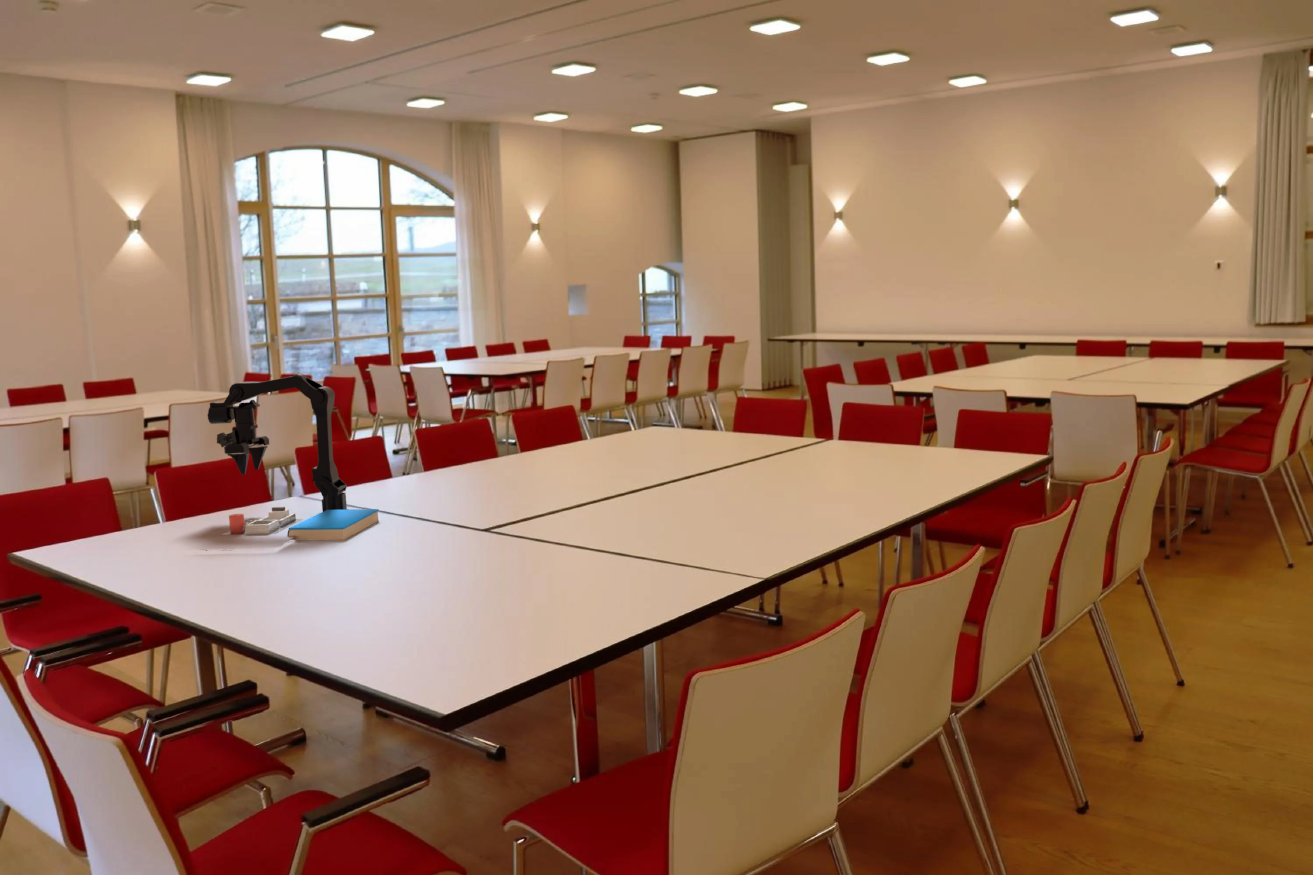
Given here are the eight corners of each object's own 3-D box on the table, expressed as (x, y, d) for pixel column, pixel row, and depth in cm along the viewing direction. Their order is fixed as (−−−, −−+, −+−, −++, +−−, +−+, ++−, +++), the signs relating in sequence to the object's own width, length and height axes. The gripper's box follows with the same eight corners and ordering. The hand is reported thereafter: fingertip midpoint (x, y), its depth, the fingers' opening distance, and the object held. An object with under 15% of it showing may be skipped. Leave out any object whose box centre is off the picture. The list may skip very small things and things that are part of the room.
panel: (303, 522, 327) (302, 510, 326) (275, 537, 307) (274, 525, 307) (252, 523, 328) (251, 511, 328) (221, 538, 308) (220, 526, 308)
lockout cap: (247, 530, 313) (246, 513, 312) (241, 533, 309) (239, 516, 308) (234, 530, 313) (232, 513, 312) (227, 533, 309) (226, 516, 309)
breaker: (289, 520, 325) (288, 505, 324) (284, 523, 321) (282, 508, 320) (275, 520, 325) (273, 506, 324) (269, 523, 321) (268, 508, 320)
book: (378, 509, 326) (344, 526, 301) (379, 523, 326) (345, 541, 302) (324, 509, 328) (286, 526, 303) (325, 523, 328) (287, 541, 304)
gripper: (234, 419, 346) (239, 468, 348) (205, 427, 328) (210, 478, 330) (267, 418, 345) (272, 466, 347) (240, 425, 327) (245, 476, 329)
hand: (250, 471), depth 338 cm, fingers open, 9 cm apart
